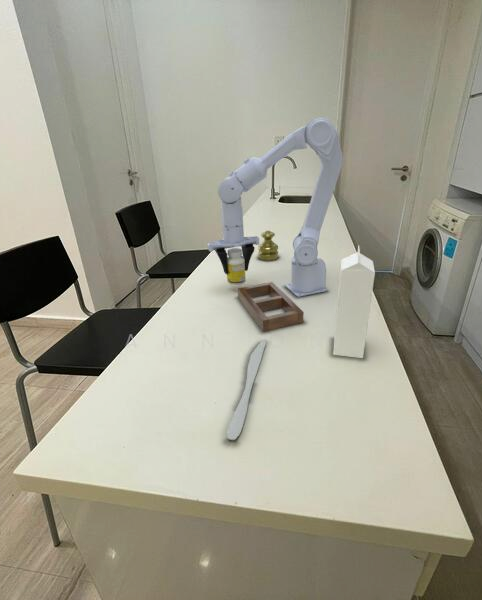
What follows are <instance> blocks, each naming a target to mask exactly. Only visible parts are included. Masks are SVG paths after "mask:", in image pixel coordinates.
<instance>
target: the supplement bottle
mask: <svg viewBox="0 0 482 600" xmlns="http://www.w3.org/2000/svg"><path fill="white" fill-rule="evenodd" d="M227 266H228V274H226V280H227V284H229V285H230V286H241V285H243V284H245V283H246V282H247V279H246V278H247V277H246V271H245V259H244V257H243V254H242V248H239V247H233V248H228V250H227Z"/></svg>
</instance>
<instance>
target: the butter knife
mask: <svg viewBox="0 0 482 600" xmlns="http://www.w3.org/2000/svg"><path fill="white" fill-rule="evenodd" d="M266 345H267V341H266V340H261V341H260V342H259V344H257V346H256V347H255V348H254V350H253V351H252V353H251V354H250V356H249V361H248V365H247V372H246V380H245V386H244V390H243V393H242V396H241V398H240V401H239V403H238V405H237V407H236V408H235V411H234V413H233V415H232V418H231V419H230V422H229V425H228V428H227V431H226V438H227V439H228V440H229V441H236V439H237V438H238V437H239V436H240V435H241V432H242V429H243V426H244V423H245V419H246V416H247V412H248V407H249V401H250V396H251V391H252V388H253V384H254V381H255V379H256V376H257V373H258V370H259V367H260V365H261V361H262V358H263V354H264V350H265V347H266Z"/></svg>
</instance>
